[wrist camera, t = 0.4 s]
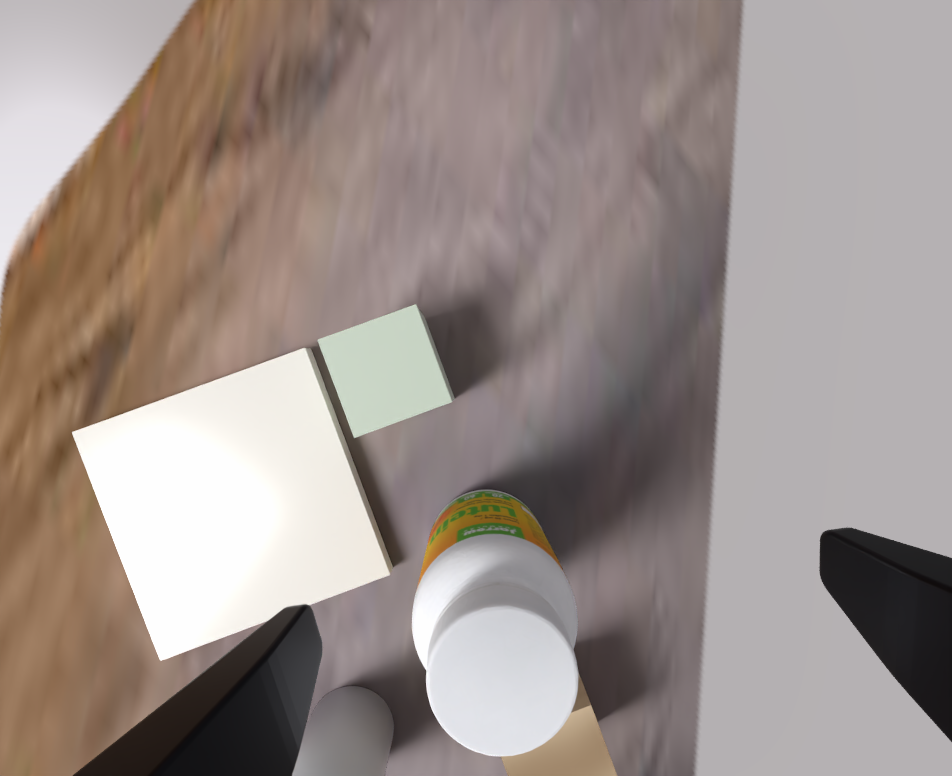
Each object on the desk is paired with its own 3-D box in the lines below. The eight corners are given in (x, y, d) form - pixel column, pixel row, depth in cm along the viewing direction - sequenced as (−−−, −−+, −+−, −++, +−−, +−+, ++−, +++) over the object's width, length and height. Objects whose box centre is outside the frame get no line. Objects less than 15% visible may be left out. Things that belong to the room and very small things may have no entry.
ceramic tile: (392, 567, 21) (390, 574, 20) (172, 650, 21) (160, 660, 20) (311, 348, 21) (305, 347, 20) (87, 430, 20) (71, 432, 20)
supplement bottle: (513, 468, 21) (553, 542, 11) (560, 569, 21) (641, 729, 11) (410, 516, 21) (362, 633, 11) (458, 618, 21) (452, 821, 11)
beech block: (595, 721, 21) (625, 799, 17) (518, 750, 21) (530, 836, 17) (567, 644, 21) (591, 705, 17) (489, 673, 21) (495, 741, 17)
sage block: (454, 398, 21) (452, 401, 17) (375, 427, 21) (354, 438, 17) (425, 319, 21) (416, 304, 17) (345, 348, 21) (317, 340, 17)
